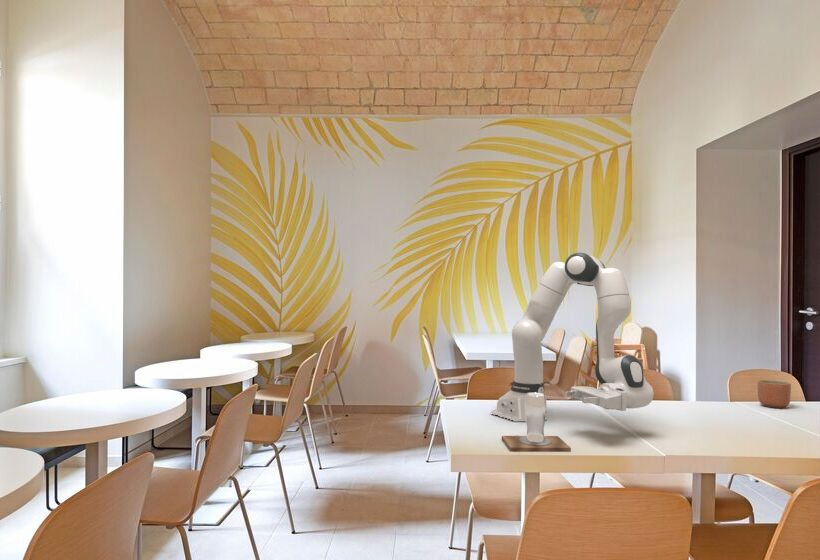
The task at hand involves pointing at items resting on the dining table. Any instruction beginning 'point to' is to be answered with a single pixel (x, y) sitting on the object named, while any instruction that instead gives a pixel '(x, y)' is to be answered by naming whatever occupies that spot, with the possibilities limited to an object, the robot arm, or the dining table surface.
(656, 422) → the dining table surface
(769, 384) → the planter
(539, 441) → the beer glass
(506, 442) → the walnut board
